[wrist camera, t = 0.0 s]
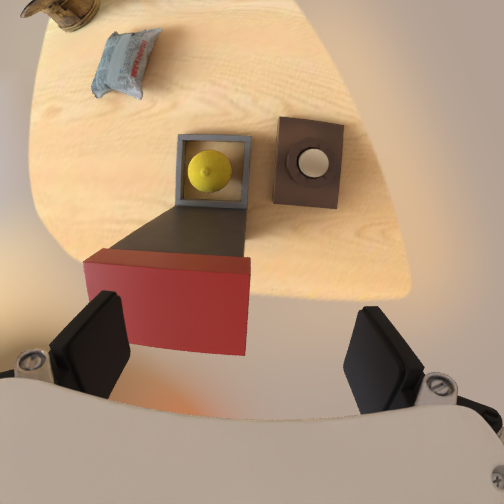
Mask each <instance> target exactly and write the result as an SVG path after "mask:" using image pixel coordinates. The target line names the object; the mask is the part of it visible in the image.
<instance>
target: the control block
mask: <svg viewBox="0 0 504 504" xmlns="http://www.w3.org/2000/svg"><path fill="white" fill-rule="evenodd" d="M343 133H344V125H340V124H334V123H327V122H321V121H314V120H306V119H298V118H289V117H279V118H278V126H277V141H276V156H275V170H274V183H273V197H272V202H273V204H284V205H296V206H308V207H319V208H330V209H337V202H338V193H339V183H340V173H341V161H342V148H343ZM310 149H318V150H321V151H322V152H324V153H325V154H326V156H327V158H328V161H329V166H328V169H327V171H326V172H325V173H324V174H323V175H322V176H319V177H310V176H307V175H305V174H304V173H303V172H302V171H301V170H300V168H299V157H300V155H301V154H302V153H303V152H304V151H306V150H310Z"/></svg>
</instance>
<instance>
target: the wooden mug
mask: <svg viewBox="0 0 504 504" xmlns="http://www.w3.org/2000/svg"><path fill="white" fill-rule="evenodd" d="M99 5H100V0H33V1H31V2H30V3H29V4H28V5H27V6H26V7H25V8H24V10H23V11H22V13H21V15H20V16H21V18H26V17H29V16H31V15H33V14H35V13H37V12H39V11H42V12H44V13H46V14H48V15H49V16H50V17H51V18H52V19H53V20H54V21H55V22H56V23H57V24H58V26H59V27H60V28H61V29H62V30H63V31H65V32H73V31H75V30H77V29H79V28H81V27H82V26H83V25H85V24H86V23H88V22H89V21H90V20H91V19H92V18H93V16H94V15H95V14H96V12H97V11H98V9H99Z"/></svg>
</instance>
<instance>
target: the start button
mask: <svg viewBox="0 0 504 504" xmlns="http://www.w3.org/2000/svg"><path fill="white" fill-rule="evenodd" d="M328 166H329V161H328V158H327V156H326V154H325V153H324V152H322V151H321V150H318V149H310V150H306V151H304V152H303V153H302V154H301V155H300V157H299V168H300V170H301V171H302V172H303V173H304V174H305V175H307V176H310V177H319V176H322V175H323V174H324V173H325V172H326V171H327V169H328Z"/></svg>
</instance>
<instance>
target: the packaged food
mask: <svg viewBox="0 0 504 504" xmlns="http://www.w3.org/2000/svg"><path fill="white" fill-rule="evenodd" d="M161 31H162V28H156V29H151V30H148V31H146V30H143V31H141V32H138V33H128V34H127V33H125V34H120V35H119V34H118V33H117V32H114V33H113V34H112V35H111V36H110V37H109V38H108V40H107V42H106V45H105V49H104V52H103V55H102V58H101V61H100V63H99V66H98V69H97V72H96V75H95V78H94V80H93V83H92V85H91V88H92V92H93V94H94V95H95V97H96V98H101V97H102V96H103V95H105V94H106V93H108V92H111V91H114V90H117V91H120V92H123V93H125V94H128V95H130V96H133V97H134V98H136V99H138V100H141V99H142V97H143V90H142V81H143V76H144V72H145V68H146V64H147V59H148V57H149V55H150V53H151V50H152V48H153V46H154V44H155V41H156V40H157V37H158V36H159V34H160V33H161Z"/></svg>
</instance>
